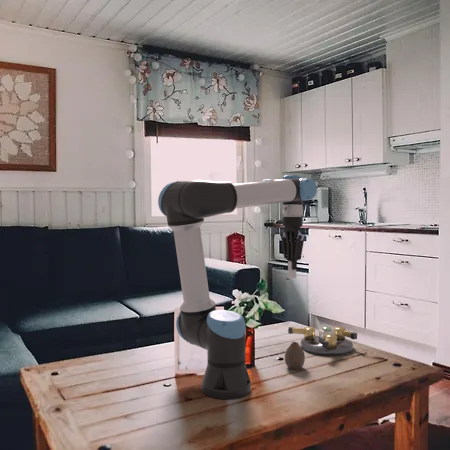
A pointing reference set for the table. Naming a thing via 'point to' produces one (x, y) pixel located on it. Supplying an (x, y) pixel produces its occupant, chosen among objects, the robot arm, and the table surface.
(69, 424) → the table surface
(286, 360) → the brown egg-shaped piece
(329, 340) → the knob
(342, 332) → the brass elongated piece
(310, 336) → the knob
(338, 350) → the levelling base
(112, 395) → the table surface
